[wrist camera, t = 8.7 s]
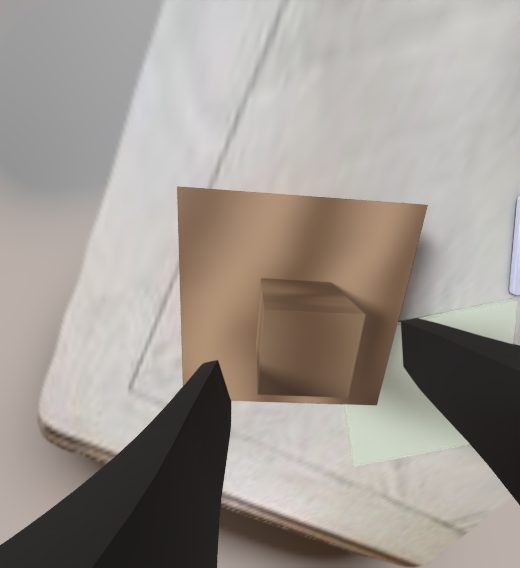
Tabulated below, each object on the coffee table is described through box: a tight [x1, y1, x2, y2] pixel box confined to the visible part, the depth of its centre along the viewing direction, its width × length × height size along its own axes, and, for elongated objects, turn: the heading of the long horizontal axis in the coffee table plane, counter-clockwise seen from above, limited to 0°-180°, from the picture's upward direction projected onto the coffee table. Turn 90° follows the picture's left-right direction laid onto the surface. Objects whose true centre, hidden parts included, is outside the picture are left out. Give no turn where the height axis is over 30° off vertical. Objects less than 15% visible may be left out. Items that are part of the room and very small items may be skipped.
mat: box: [344, 299, 517, 467], centre depth 23 cm, size 15×15×1 cm
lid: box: [177, 187, 428, 405], centre depth 13 cm, size 13×13×5 cm
